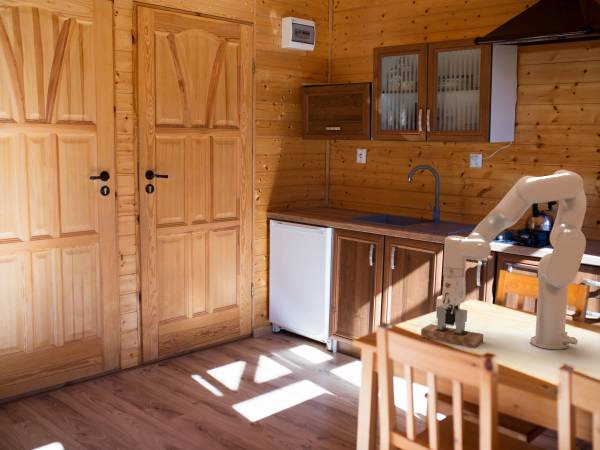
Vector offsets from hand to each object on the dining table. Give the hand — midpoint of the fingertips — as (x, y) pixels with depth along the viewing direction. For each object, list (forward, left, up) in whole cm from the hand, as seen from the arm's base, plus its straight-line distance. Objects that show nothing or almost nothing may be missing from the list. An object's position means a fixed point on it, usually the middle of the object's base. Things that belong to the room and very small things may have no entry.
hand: (451, 322), depth 242 cm
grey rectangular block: (0, 0, -3) cm, 3 cm away
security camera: (+10, -19, -7) cm, 22 cm away
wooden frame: (0, 0, -6) cm, 6 cm away
